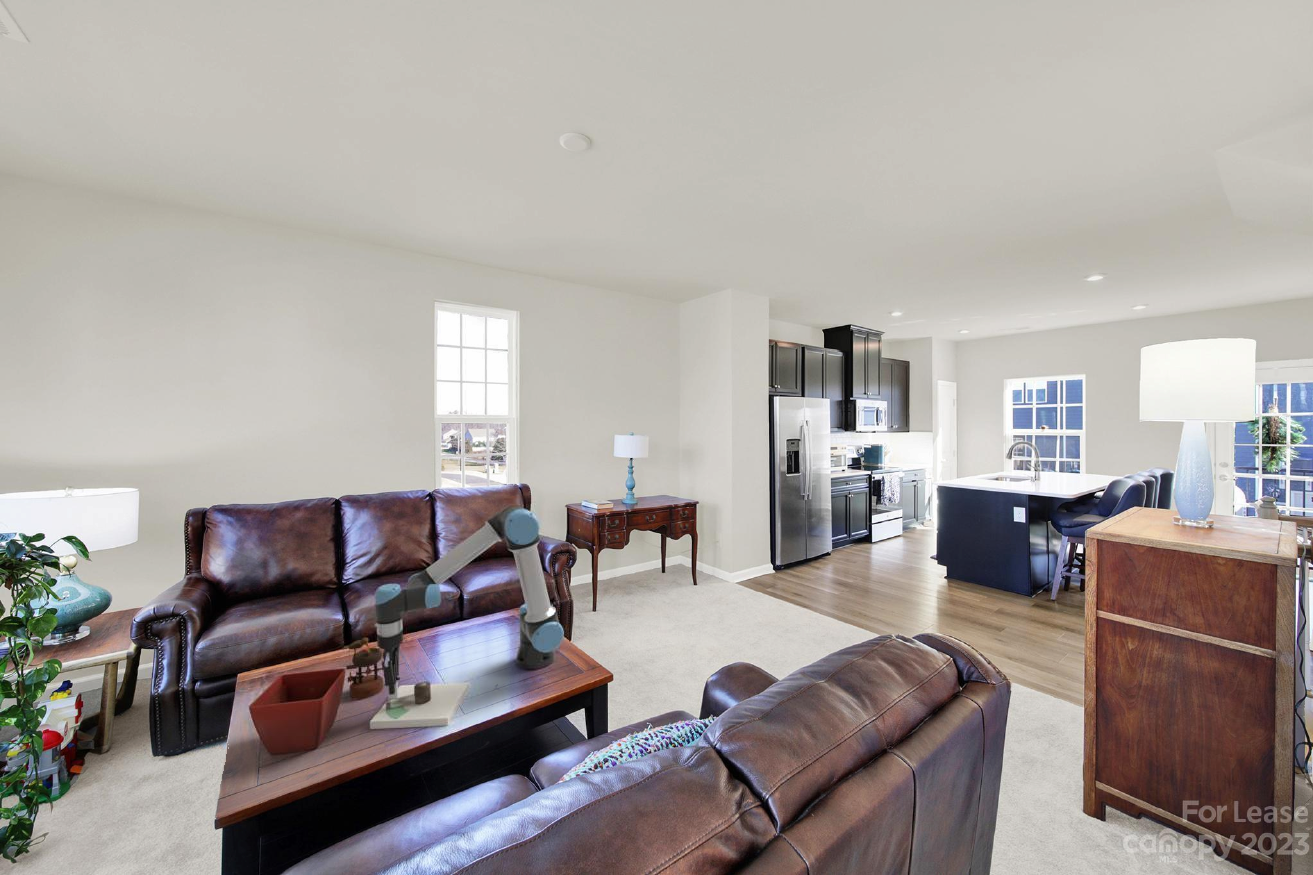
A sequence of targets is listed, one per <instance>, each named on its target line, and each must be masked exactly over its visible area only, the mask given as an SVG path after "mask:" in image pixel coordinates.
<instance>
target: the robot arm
mask: <svg viewBox="0 0 1313 875" xmlns="http://www.w3.org/2000/svg"><path fill="white" fill-rule="evenodd" d="M539 533H540V522H539V519H538V517H537V516H536V515H535V514H534V513H533V512H532V511H530V510H529V509H526V508H524V506H521V505H517V504H516V505H515V504H513V505H508V506H506V507H504V508H502V509H501V510H499V511H498V512H496V513H495V514H494V515H492V517H490V518H489V519H487V520H486V521H485V524H484V526H482V527H481V528H480V529H478V530H477V531H476V532H474V533H473V534H472V535H470V536H468V538H466V539H464V541H462V542H461V543H459V544H457V546H455V547H454V548H452V549H451V550H450V551H449V552H447V553H445V554H444V555H443V556H442V557H440V558H439V559H438V560H437V561H435V562H433V563H432V564H431V565H430V566H428V567H427V568H426V569H424V570H423V571H421V572H418V573H415V574H413V575H411V576H410V577H409V578H408V580H407V583H406V588H404V589H402V588H401V587H402V586H401V585H400V584H398V583H387V584H383V585H380V586H379V587H377V588H376V590H375V594H374V596H375V597H374V605H375V620H376V623H375V624H374V627H375V628H376V634H377V636H376V641H377V642H376V644H377V647H378V649H383V650H384V651H383V652H382V659H383V662H382V661H381V668H382V667H383V670H382V671H383V679H384V683H383V686H385V687H387V697H388V698H387V700H391V699H396V698H398V688H399V687H398V681H401V677H399V676H400V669H399V668H400V667H399V666H400V645H401V644H402V643H403V641H404V632H403V628H404V627H403V613H409V612H415V611H422V610H426V609H428V610H429V609H431V608H436V607H439V606H440V605H441V602H442V600H441V598H442V596H441V589H440V585H441V584H442V583H443V582H446V581H447V579H449V578H450V577H452V576H453V575H455V574H456V573H457V572H458V571H460V570H461V569H463V567H465V566H467V565H468V564H469V563H471V562H472V561H473V560H474V559H476V558H478V557H479V555H481V554H482V553H483V552H485V551H486V550H487V549H489V548H490V547H492V546H493V545H494V544H496V543H497V542H500V543H501V542H502V541H504V540H505V542H506V547H507V550H508V551H510V552H512V554H513V557H514V560H515V565H516V570H517V573H518V577H519V582H520V587H521V590H522V594H523V599H524V604H522V605H521V606H519V610H518V618H519V646H518V649H517V653H516V656H515V665H516V666H517V667H519V668H521V669H525V670H536V669H537V670H538V669H542V668H546V667H548V666H549V665H551V664H552V663H553V662H555V659H556V653H555V650H556V649H557V648H558V647H559V646H560V645H561V643H562V642H563V640H564V636H565V631H564V628H563V626H562V625H561V623H560V621H559V619H558V618H559V617H558V614H557V610H556V609H557V608H556V607H555V606H553V605H551V601H550V598H549V594H548V589H547V583H546V580H545V575H544V571H543V566H542V563H541V559H540V554H539V550H538V545H539V543H540V542H541V539H540V534H539Z"/></svg>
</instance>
